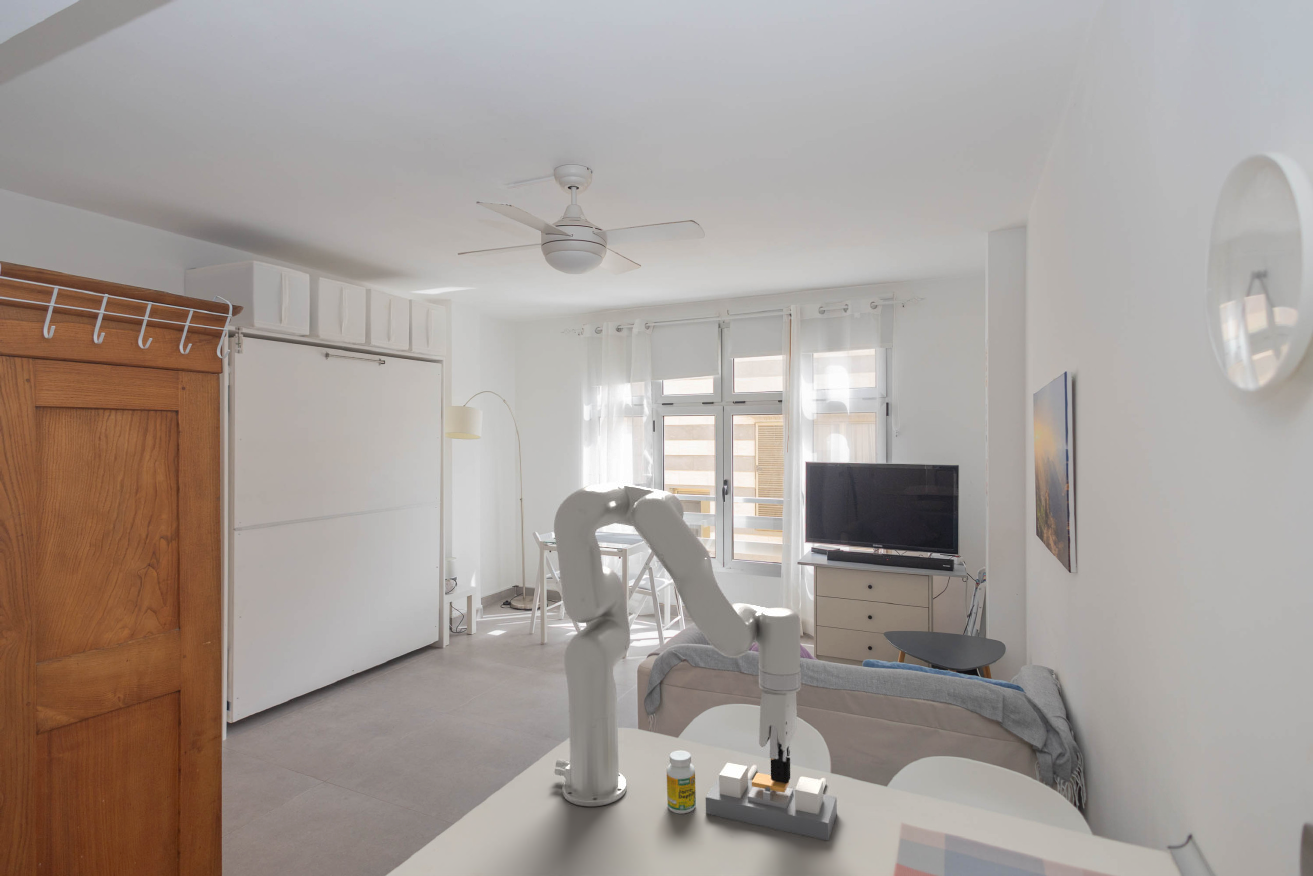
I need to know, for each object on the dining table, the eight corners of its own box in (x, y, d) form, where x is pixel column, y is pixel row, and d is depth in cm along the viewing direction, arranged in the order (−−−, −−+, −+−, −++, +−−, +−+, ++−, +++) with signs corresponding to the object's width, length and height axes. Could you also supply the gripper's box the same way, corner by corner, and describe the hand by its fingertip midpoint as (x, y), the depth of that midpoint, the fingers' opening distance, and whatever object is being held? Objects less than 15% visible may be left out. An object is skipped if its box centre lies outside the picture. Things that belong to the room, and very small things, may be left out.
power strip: (705, 813, 120) (705, 777, 120) (736, 766, 137) (736, 735, 137) (828, 841, 111) (827, 802, 111) (844, 786, 128) (844, 753, 128)
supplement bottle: (684, 796, 126) (683, 745, 126) (701, 808, 121) (700, 756, 122) (661, 804, 123) (660, 753, 123) (678, 818, 118) (677, 764, 119)
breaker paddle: (751, 789, 119) (751, 782, 119) (757, 779, 122) (757, 772, 122) (784, 796, 116) (784, 788, 116) (789, 785, 120) (789, 778, 120)
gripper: (769, 663, 127) (770, 758, 127) (748, 689, 113) (749, 796, 113) (808, 668, 124) (809, 765, 124) (791, 696, 110) (792, 805, 110)
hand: (780, 779), depth 119 cm, fingers closed
